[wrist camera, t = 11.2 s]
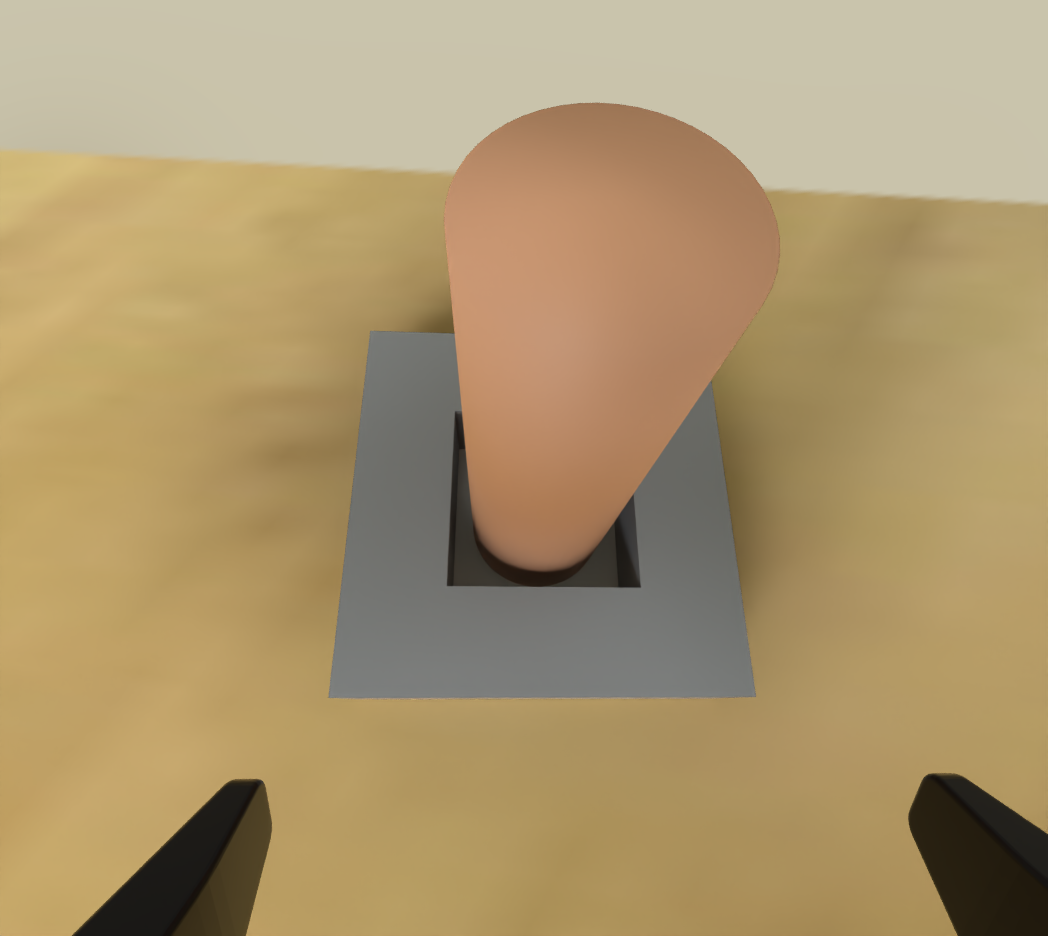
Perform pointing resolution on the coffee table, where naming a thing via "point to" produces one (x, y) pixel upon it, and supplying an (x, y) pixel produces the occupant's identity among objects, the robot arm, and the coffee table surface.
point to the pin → (591, 314)
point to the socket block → (516, 610)
